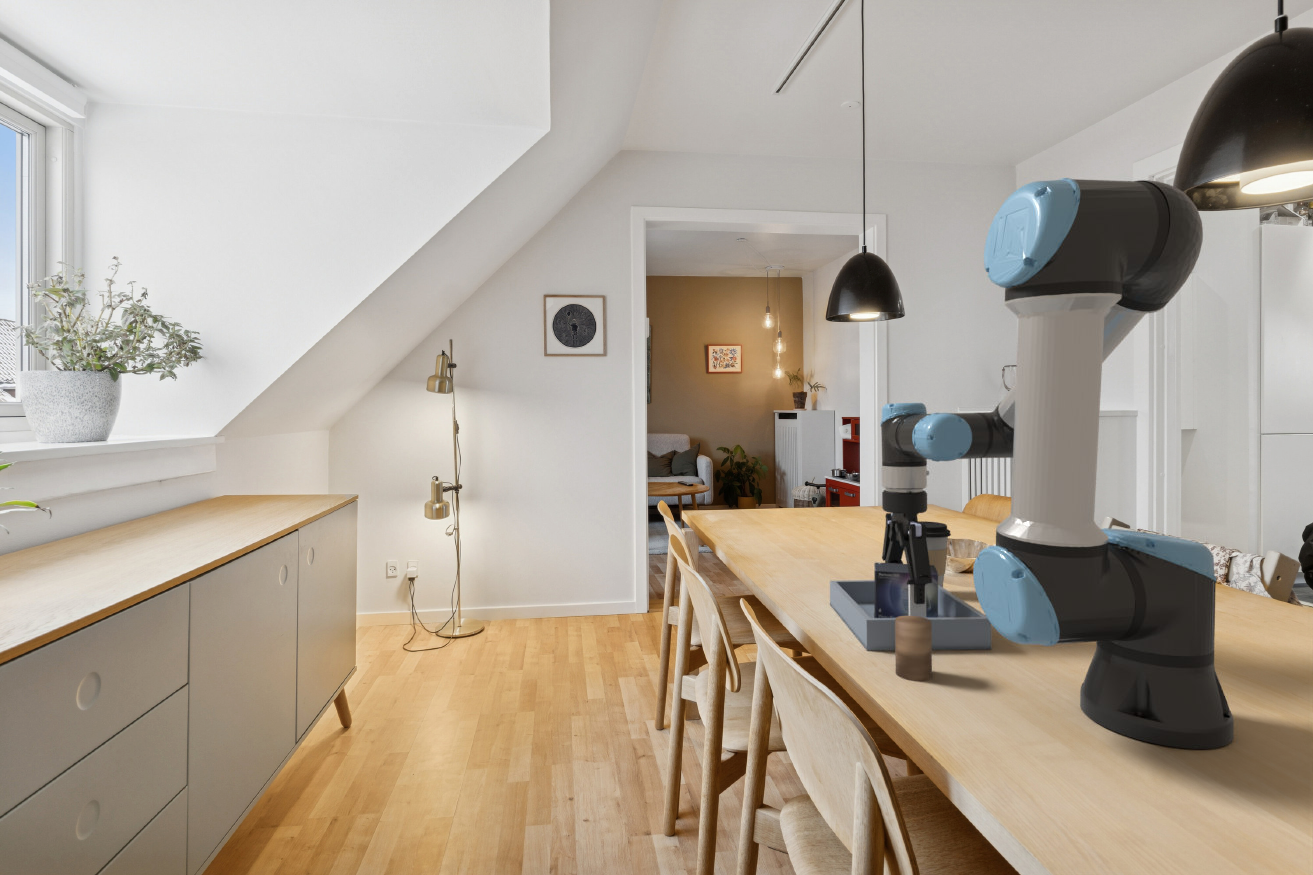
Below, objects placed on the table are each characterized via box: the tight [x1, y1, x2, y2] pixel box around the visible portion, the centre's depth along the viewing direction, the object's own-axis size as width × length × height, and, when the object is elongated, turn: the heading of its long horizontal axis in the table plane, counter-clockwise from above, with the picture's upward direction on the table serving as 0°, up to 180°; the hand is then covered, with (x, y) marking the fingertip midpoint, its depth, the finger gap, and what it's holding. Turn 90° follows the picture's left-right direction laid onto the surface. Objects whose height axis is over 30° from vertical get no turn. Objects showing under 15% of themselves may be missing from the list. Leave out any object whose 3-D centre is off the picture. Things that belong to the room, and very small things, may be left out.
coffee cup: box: [918, 520, 952, 588], centre depth 140 cm, size 9×9×15 cm
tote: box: [829, 579, 992, 652], centre depth 120 cm, size 26×20×5 cm
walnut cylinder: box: [894, 616, 933, 682], centre depth 97 cm, size 5×5×8 cm
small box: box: [873, 562, 938, 618], centre depth 118 cm, size 11×6×10 cm, turn 73°
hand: (905, 611), depth 118 cm, fingers open, 11 cm apart
